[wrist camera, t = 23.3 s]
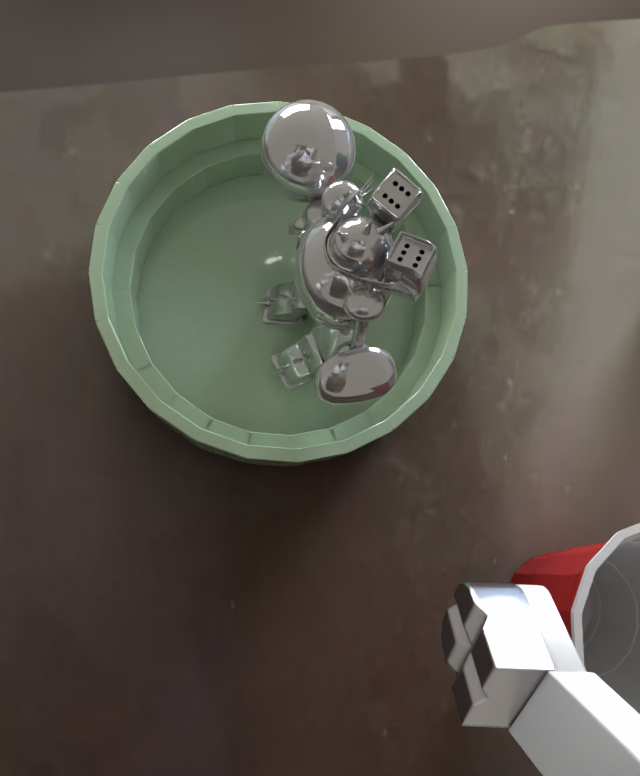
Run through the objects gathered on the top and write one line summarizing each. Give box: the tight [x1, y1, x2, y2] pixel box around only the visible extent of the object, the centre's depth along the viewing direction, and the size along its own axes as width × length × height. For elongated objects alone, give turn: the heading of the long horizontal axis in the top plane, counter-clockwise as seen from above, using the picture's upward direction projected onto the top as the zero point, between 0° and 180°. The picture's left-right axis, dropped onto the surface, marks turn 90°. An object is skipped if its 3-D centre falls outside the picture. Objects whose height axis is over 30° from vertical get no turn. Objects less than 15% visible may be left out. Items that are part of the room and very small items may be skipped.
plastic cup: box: [511, 523, 640, 714], centre depth 30 cm, size 11×11×12 cm
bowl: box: [88, 101, 468, 467], centre depth 34 cm, size 20×20×6 cm
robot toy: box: [257, 99, 437, 405], centre depth 29 cm, size 15×6×15 cm, turn 12°
